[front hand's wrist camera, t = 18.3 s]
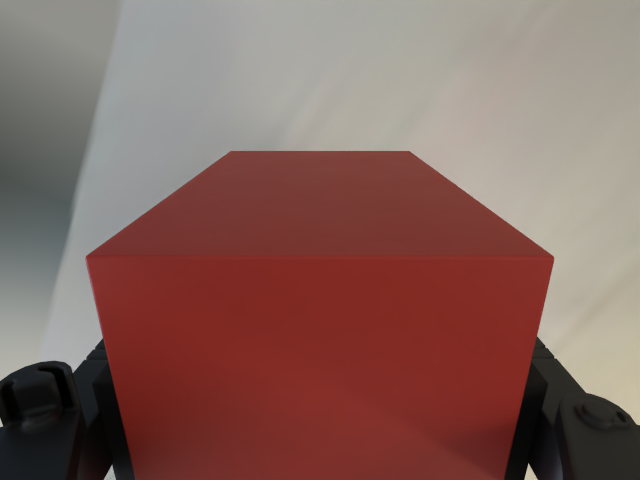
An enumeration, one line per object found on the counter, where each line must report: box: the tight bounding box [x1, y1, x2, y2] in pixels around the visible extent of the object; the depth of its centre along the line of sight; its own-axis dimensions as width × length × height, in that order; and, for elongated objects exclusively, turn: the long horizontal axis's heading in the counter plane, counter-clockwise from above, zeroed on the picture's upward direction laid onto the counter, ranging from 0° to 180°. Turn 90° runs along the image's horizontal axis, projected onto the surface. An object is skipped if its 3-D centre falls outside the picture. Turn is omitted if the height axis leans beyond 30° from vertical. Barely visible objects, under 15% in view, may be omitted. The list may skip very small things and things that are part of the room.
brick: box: [85, 151, 554, 480], centre depth 13 cm, size 9×7×11 cm
